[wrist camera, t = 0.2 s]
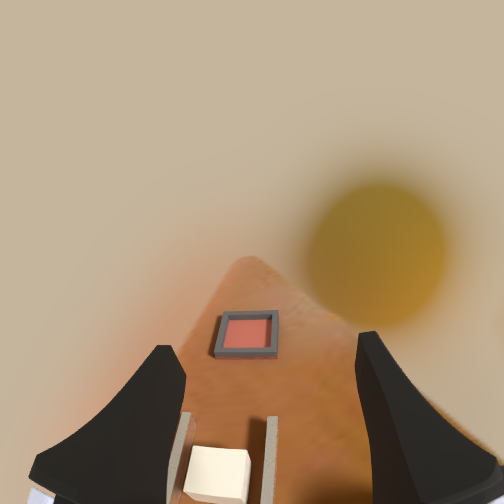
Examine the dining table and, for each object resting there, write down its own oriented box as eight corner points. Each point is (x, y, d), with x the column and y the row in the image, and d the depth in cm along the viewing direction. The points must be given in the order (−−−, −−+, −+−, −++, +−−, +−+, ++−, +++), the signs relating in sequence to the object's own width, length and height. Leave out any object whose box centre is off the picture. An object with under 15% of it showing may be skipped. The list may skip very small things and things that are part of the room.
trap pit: (277, 358, 37) (276, 351, 36) (215, 358, 38) (213, 351, 37) (278, 317, 44) (278, 310, 43) (225, 318, 45) (223, 311, 44)
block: (247, 506, 20) (240, 498, 18) (195, 500, 21) (183, 491, 19) (251, 463, 25) (246, 450, 23) (203, 459, 25) (193, 445, 23)
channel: (271, 533, 17) (270, 531, 16) (165, 520, 19) (155, 515, 17) (278, 426, 28) (277, 416, 27) (188, 422, 29) (182, 411, 28)
